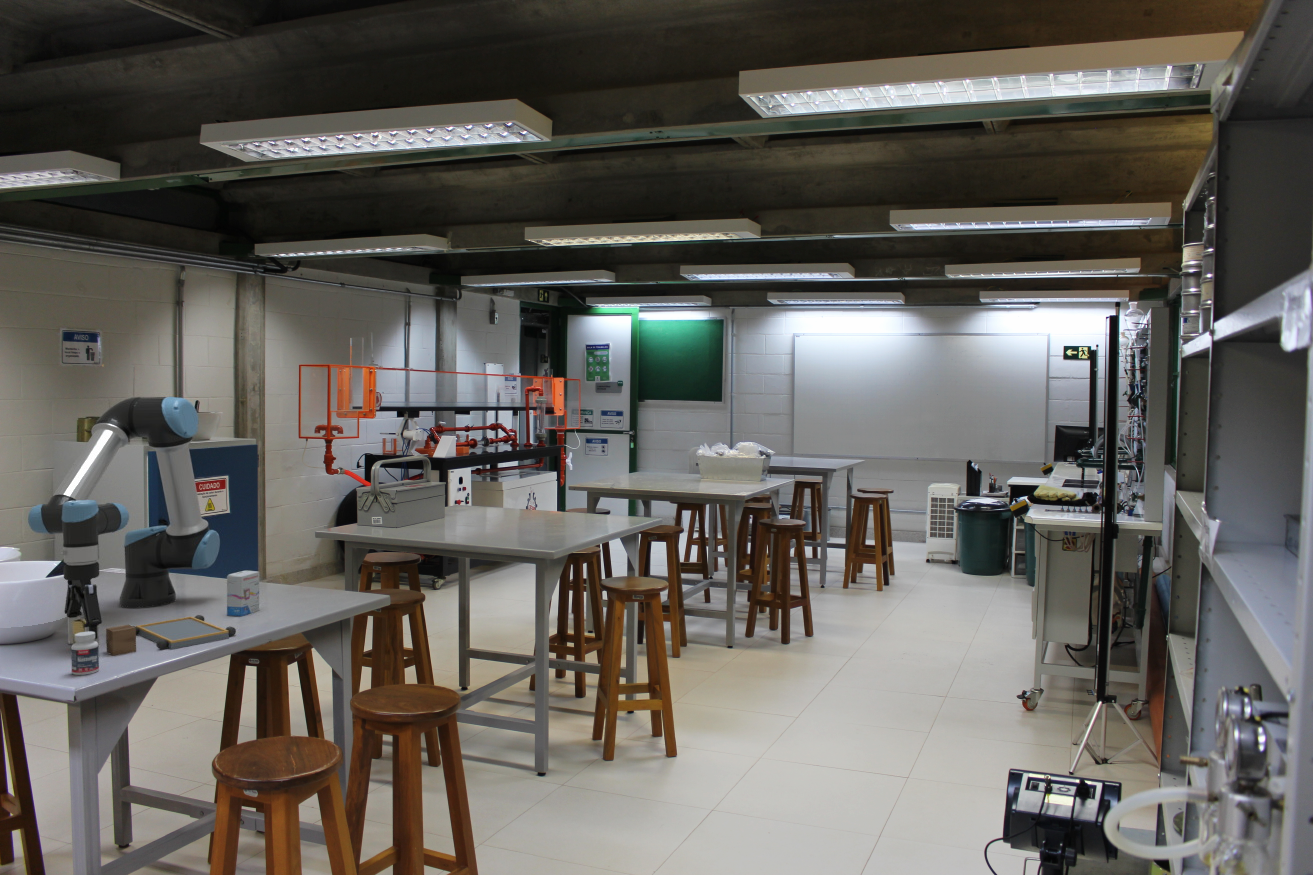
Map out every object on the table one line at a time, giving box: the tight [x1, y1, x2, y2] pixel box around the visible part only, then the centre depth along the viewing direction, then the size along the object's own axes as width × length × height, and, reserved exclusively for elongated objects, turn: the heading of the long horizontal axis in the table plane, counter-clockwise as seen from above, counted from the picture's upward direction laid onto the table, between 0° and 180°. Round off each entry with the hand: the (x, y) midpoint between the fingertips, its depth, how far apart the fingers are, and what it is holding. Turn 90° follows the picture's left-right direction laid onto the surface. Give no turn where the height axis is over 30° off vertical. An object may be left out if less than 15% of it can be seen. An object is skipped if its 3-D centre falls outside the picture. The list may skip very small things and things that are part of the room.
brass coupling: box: [72, 618, 86, 645], centre depth 228 cm, size 4×4×7 cm
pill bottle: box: [70, 632, 100, 676], centre depth 207 cm, size 5×5×9 cm
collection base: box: [132, 614, 237, 650], centre depth 239 cm, size 24×19×2 cm
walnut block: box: [105, 624, 137, 657], centre depth 224 cm, size 5×5×6 cm
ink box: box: [226, 570, 260, 617], centre depth 265 cm, size 8×5×12 cm, turn 168°
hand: (83, 647), depth 228 cm, fingers open, 13 cm apart
